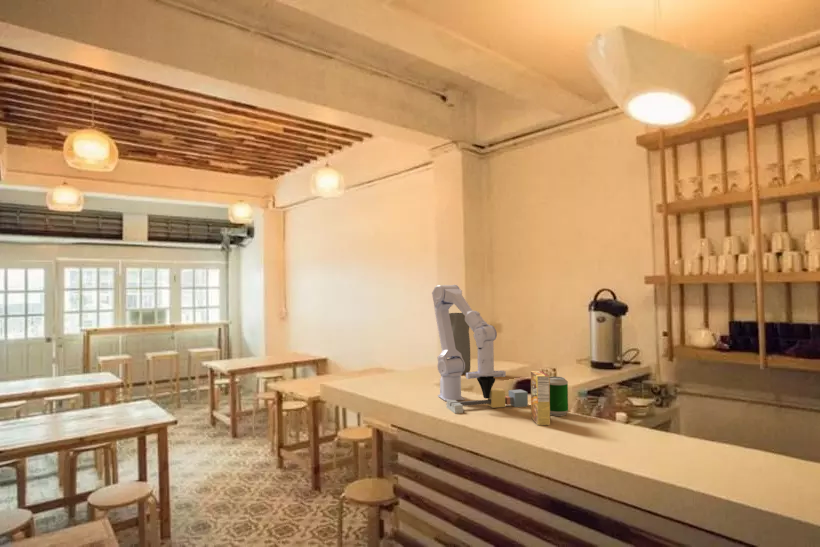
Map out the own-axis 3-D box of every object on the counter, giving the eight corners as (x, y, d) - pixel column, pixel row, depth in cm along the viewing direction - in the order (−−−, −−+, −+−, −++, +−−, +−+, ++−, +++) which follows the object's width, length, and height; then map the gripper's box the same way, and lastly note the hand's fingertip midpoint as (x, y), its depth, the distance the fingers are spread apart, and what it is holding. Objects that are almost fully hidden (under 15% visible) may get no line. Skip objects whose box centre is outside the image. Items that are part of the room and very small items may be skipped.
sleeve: (487, 405, 176) (487, 389, 176) (500, 404, 177) (500, 388, 177) (492, 407, 172) (492, 391, 172) (505, 406, 173) (505, 390, 174)
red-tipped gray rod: (453, 409, 169) (453, 401, 169) (450, 407, 172) (450, 399, 172) (513, 404, 175) (513, 397, 175) (510, 402, 177) (510, 395, 178)
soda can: (569, 417, 160) (568, 380, 160) (545, 416, 161) (545, 379, 161) (567, 411, 167) (566, 376, 167) (544, 410, 168) (543, 375, 169)
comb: (446, 407, 175) (446, 400, 175) (454, 406, 175) (454, 399, 175) (455, 413, 166) (454, 405, 166) (463, 412, 167) (463, 405, 167)
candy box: (530, 418, 159) (529, 370, 160) (543, 417, 159) (542, 370, 160) (537, 425, 150) (536, 375, 151) (551, 425, 150) (550, 375, 151)
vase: (476, 372, 246) (475, 313, 247) (461, 376, 237) (460, 314, 238) (457, 370, 254) (456, 312, 255) (442, 373, 245) (441, 313, 246)
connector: (504, 404, 178) (504, 390, 178) (521, 403, 180) (520, 389, 180) (511, 407, 173) (510, 393, 174) (527, 406, 175) (527, 392, 175)
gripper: (470, 362, 168) (471, 401, 168) (509, 360, 172) (509, 398, 172) (463, 359, 175) (464, 397, 175) (500, 357, 179) (501, 394, 179)
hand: (486, 397), depth 174 cm, fingers closed
